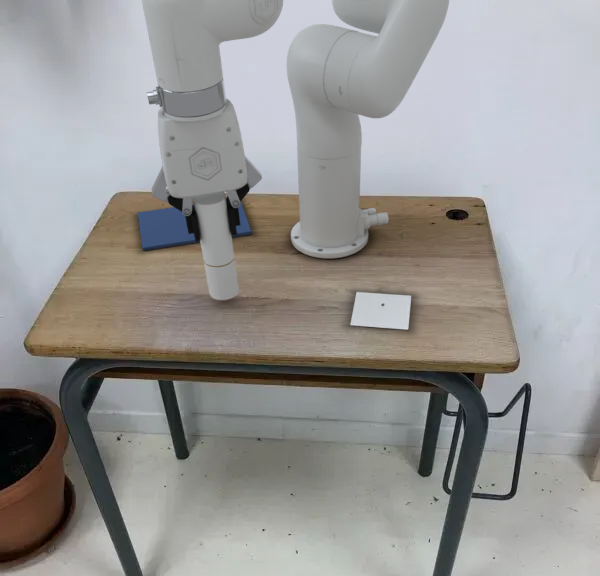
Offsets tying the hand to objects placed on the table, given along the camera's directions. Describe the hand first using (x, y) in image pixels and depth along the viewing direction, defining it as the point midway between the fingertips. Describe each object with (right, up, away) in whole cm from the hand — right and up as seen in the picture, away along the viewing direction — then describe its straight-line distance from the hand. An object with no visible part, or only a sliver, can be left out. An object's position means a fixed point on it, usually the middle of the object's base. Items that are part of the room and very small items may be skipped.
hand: (214, 232), depth 93 cm
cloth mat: (-7, +7, +24) cm, 26 cm away
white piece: (+23, -10, +5) cm, 26 cm away
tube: (+1, -7, +7) cm, 10 cm away
